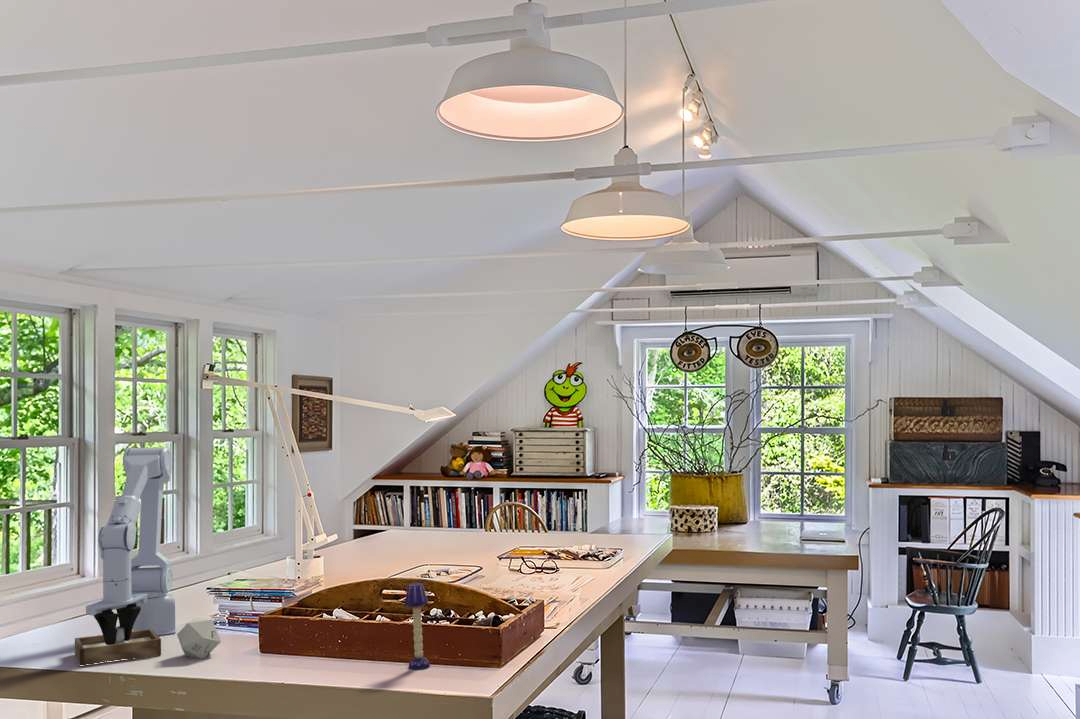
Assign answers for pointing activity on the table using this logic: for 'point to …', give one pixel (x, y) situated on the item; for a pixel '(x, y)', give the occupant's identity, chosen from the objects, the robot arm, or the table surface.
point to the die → (198, 638)
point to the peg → (120, 635)
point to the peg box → (117, 648)
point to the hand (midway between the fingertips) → (117, 642)
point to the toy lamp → (417, 623)
